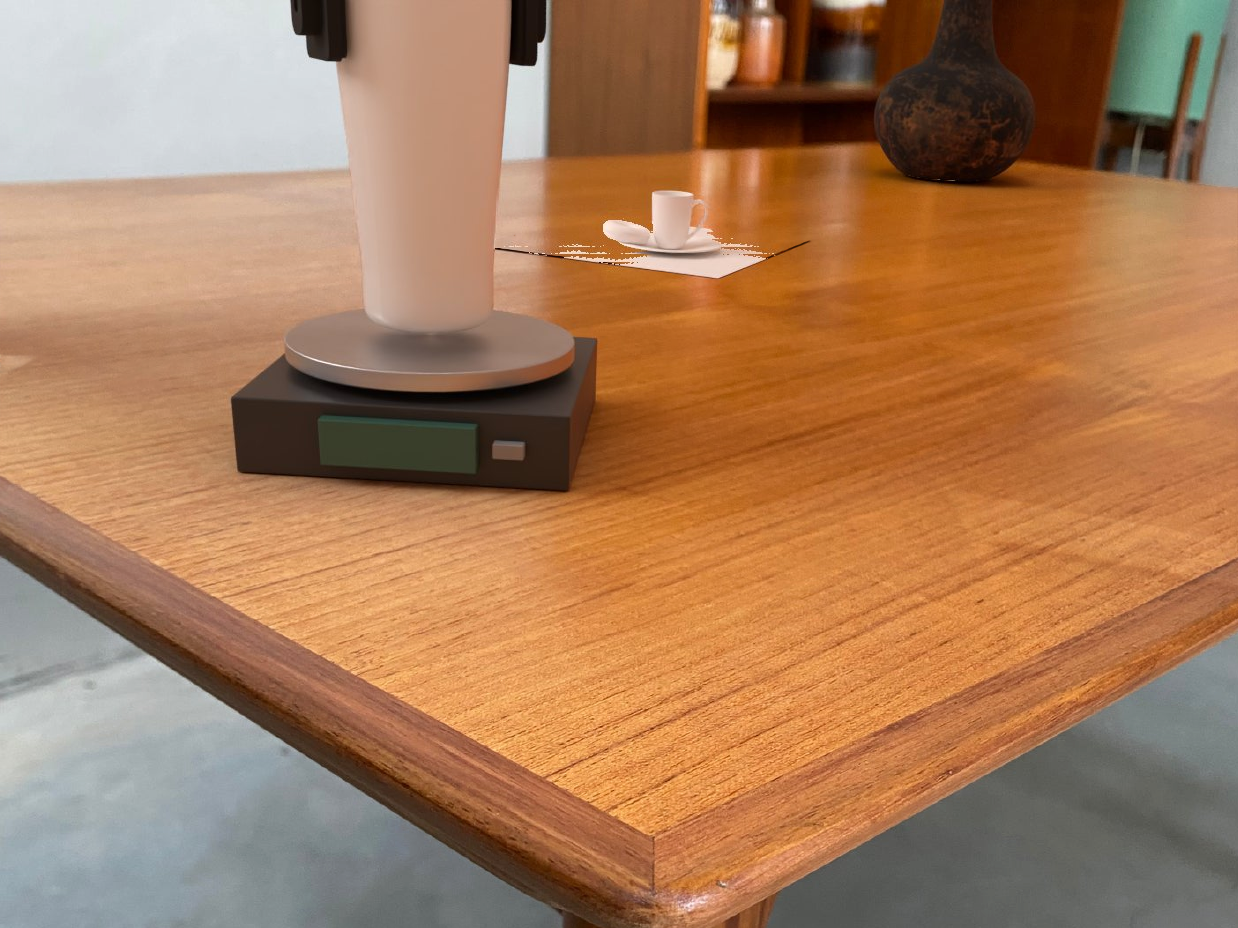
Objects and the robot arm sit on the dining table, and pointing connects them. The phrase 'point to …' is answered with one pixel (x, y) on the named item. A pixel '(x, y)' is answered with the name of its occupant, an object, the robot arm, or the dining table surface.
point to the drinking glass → (426, 155)
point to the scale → (417, 429)
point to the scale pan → (429, 353)
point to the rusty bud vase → (956, 104)
